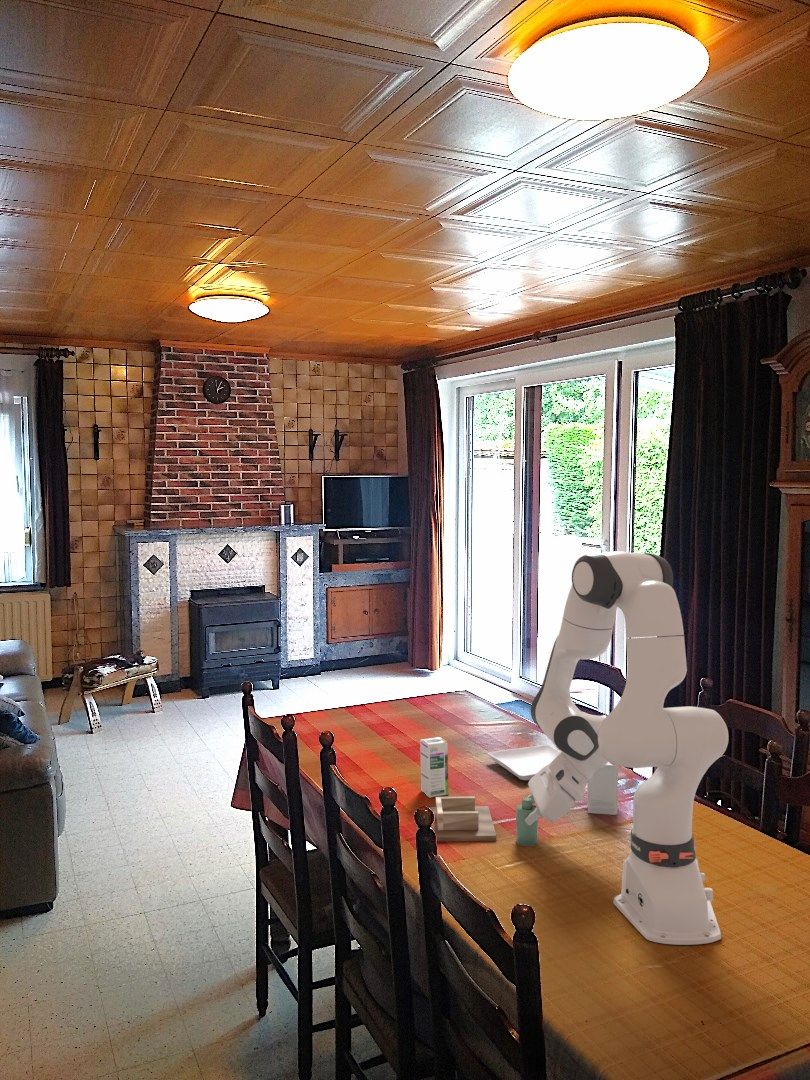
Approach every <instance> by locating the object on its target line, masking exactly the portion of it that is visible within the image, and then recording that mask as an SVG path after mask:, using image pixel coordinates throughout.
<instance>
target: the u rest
mask: <svg viewBox="0 0 810 1080" xmlns="http://www.w3.org/2000/svg"><path fill="white" fill-rule="evenodd" d="M475 801H476V797H475V796H474V795H472V796H471V795H470V796H468V795H467V796H463V795H462V796H460V795H459V796H436V797H435V806H426V807H427V808H430V809H431V810H432V811H433V812H434V814H435V822H434V824H433V826H432V829H433V830H434V831H435V833H436V836H437V841H438V842H482V841H483V842H484V841H485V842H486V841H487V842H489V841H493V842H494V841H497V832H496V830H495V826H494V822H493V818H492V816H491V815H492V814H491V811H490V808H489V806H488V805H480V806H479V805H476V802H475Z"/></svg>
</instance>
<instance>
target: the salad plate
mask: <svg viewBox="0 0 810 1080" xmlns="http://www.w3.org/2000/svg"><path fill="white" fill-rule="evenodd" d="M561 752H562V751H561V750H559V749H558V748H556V747H554V746H551V745H549V744H545V745H534V746H526V747H520V748H519V747H517V748H511V749H503V750H497V751H490V752H487V756H488V757H489V758H490V759H491V760H492V761H493V762H495V763H496V764H498V765H499V766H501V767H503V768H504V770H505V769H506V770H507V771H508V772H510V773H511V774H513V775H514V776H515V777H517V778H518V779H519V780H521V781H530V779H531V778H532V777H533V776H534V775H535V774H537V773H538V772H539V771H540V770H541V769H542V768H543V767H545V766H546V765H549V764H550V763H551V762H552V761H553V760H554V759H555V758H556V757H557V756H558V755H559V754H560V753H561Z"/></svg>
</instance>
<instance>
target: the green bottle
mask: <svg viewBox="0 0 810 1080" xmlns="http://www.w3.org/2000/svg"><path fill="white" fill-rule="evenodd" d="M536 807H537V805H535V804H534V805H532V799H531V798H527V797H523V798H521V803H520V804H518V805H516V807H515V821H516V822H515V826H516V827H515V831H516V832H515V834H516V835H515V836H516V838H515V840H516V841H515V842H516V843H517V844H518V845H520V846H522V847H534V846H537V845H538V843H539V819H538V820H536V821H535V822H534V823H533V824H532V825H528V824H527V823H526V822H525V820H524V817H525V816H526V815H527V814H528V813H529V814H530V813H532V812H533V811H534V809H535V808H536Z"/></svg>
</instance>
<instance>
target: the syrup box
mask: <svg viewBox="0 0 810 1080" xmlns="http://www.w3.org/2000/svg"><path fill="white" fill-rule="evenodd" d="M419 745H420V746H419V747H420V748H419V750H420V751H419V752H420V784H421V785H420V788H421V789H420V790H421V792H422V793H423V792H424V793H425V794H426V795H425V794H424V793H423V794H424V795H425V796H427V798H429V799H431V798H436V797H443V796H448V795H449V792H450V791H449V749H448V748H449V747H448V746H449V743H448V741H447V740H446V739H445V738H442V737H440V736H437V737H431V738H425V739H424V738H423V739H422V738H421V739H420V740H419Z"/></svg>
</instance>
